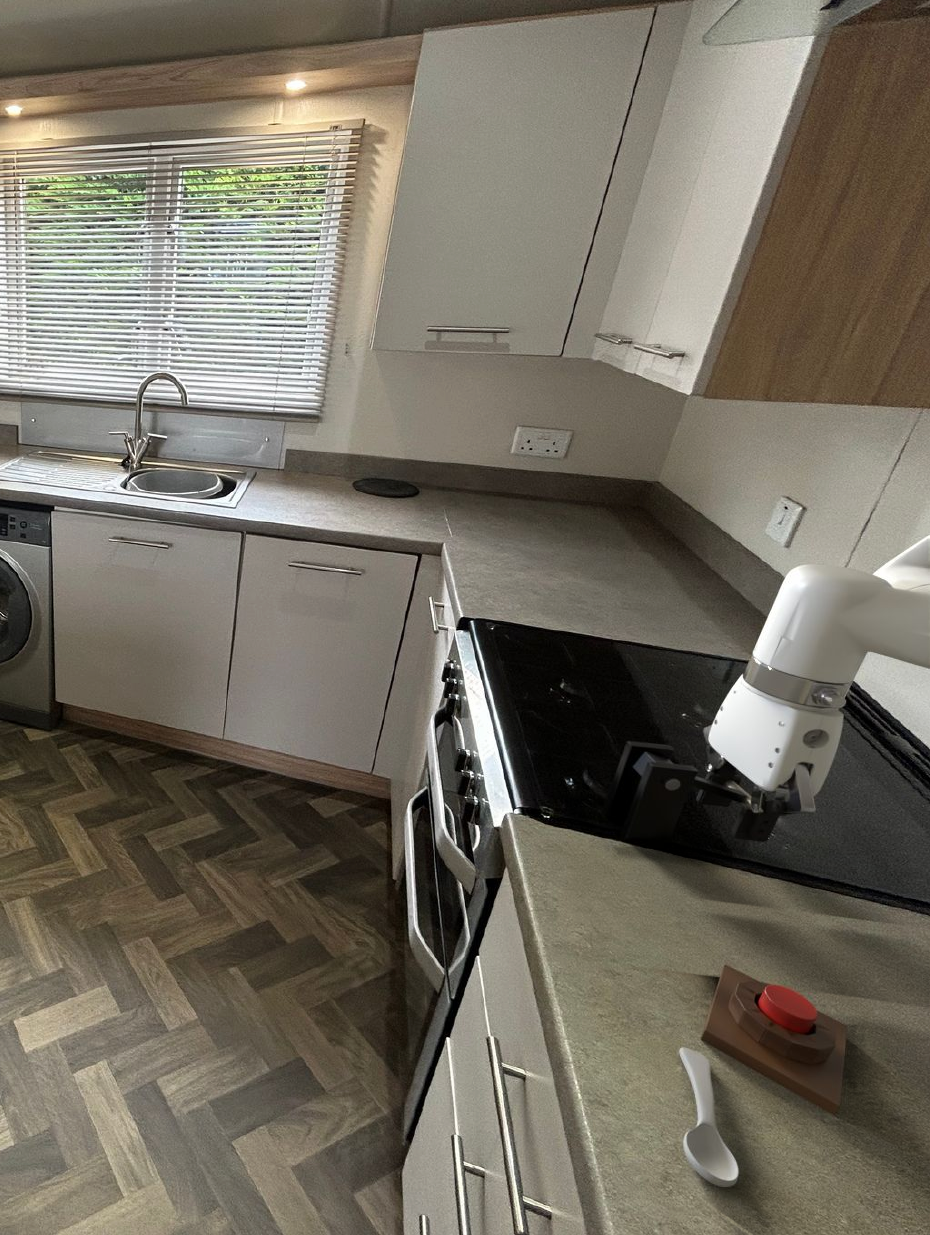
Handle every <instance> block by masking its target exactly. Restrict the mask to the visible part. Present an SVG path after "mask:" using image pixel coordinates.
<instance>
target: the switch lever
mask: <svg viewBox="0 0 930 1235" xmlns="http://www.w3.org/2000/svg"><path fill="white" fill-rule="evenodd" d="M648 761H649V762H659V763H669V764H674V762H672V760H669V759H667V758H664V757H661V756H658V755H655V754H652V753H649V752H646V751H645V752H644V753H643V754H642V755H641V757H640V758H639V759H638V761H637V762H636V763H635V765H634V766H633V768H634V769H635V770H636V771H637V772H638V773H639V774H640V775H641V776H643V773H644V771H645V768H646V765H647V763H648ZM691 788H695V789H698V790H700V789H701V790H703V791H706V792H709V793H712V794H715V795H718V796H721V797H724V798H727V799H730V800H732V802H737V803H739V804H741V805H742V806H743V807H744V806H749V807H750V803H751V797H752V795H751V794H749V793H748V792H747V791H745V790H744V789H743V788H742V787H741V786H740V784H739V785H737V784H736V783H735V782H734V781H732V780H728V781H725V782H724V783H723V785H721V784H718V783H715V782H712V781H709V780H706V779H705V778H704V777H700V776H697V775H696V777H695V780H694V782H693V784H692V787H691Z"/></svg>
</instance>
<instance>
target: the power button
mask: <svg viewBox="0 0 930 1235" xmlns="http://www.w3.org/2000/svg"><path fill="white" fill-rule="evenodd" d="M758 1007H759V1009H760V1011H761V1012H762V1013H763V1014H764V1015H765V1016H766V1017H768V1018H769V1019H770V1020H771V1021H773V1022H774V1023H775V1024H777V1025H779V1026H781V1027H783V1028H785V1029H787V1030H789V1031H791V1032H795V1033H799V1034H805V1033H808V1032H809V1031H810V1029H811V1027H812V1026H813V1024H814V1022H815V1020H816V1019H817V1017H818V1013H817V1011H818V1010H817V1008H816V1006H814V1005H813V1003H812V1002H811V1001H809V999H808V998H806V997H805V996H804V995H802V994H800V993H799V992H797V991H795V990H793V989H791V988H788V987H786V986H783V985H779V984H772V985H768V986H766V987H765V989H764V991H763V993H762V995H761V997H760V999H759V1001H758Z"/></svg>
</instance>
